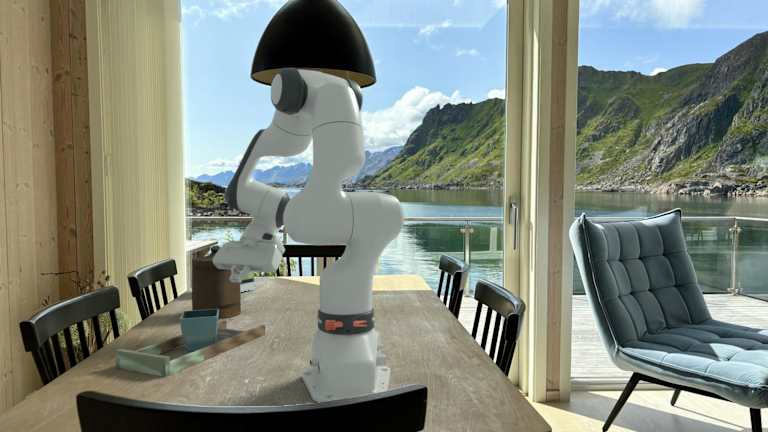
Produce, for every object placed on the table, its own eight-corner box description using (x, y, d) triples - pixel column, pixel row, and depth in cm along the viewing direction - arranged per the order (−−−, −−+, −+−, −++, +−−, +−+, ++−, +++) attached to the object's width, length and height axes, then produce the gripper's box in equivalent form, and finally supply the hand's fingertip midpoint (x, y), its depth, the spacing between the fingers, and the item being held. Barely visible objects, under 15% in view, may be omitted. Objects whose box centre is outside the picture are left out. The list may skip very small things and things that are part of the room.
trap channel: (223, 329, 151) (222, 315, 150) (265, 334, 145) (265, 320, 145) (116, 368, 118) (115, 350, 118) (165, 376, 112) (165, 358, 112)
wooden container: (238, 307, 179) (237, 242, 178) (243, 317, 165) (242, 247, 164) (191, 311, 174) (190, 244, 173) (192, 321, 160) (191, 249, 159)
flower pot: (180, 355, 127) (179, 318, 126) (183, 345, 135) (183, 310, 135) (218, 352, 129) (217, 316, 129) (219, 342, 138) (219, 308, 137)
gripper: (221, 233, 154) (198, 272, 146) (281, 236, 146) (260, 276, 138) (231, 247, 158) (210, 285, 150) (290, 250, 151) (270, 290, 142)
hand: (234, 281), depth 144 cm, fingers closed
